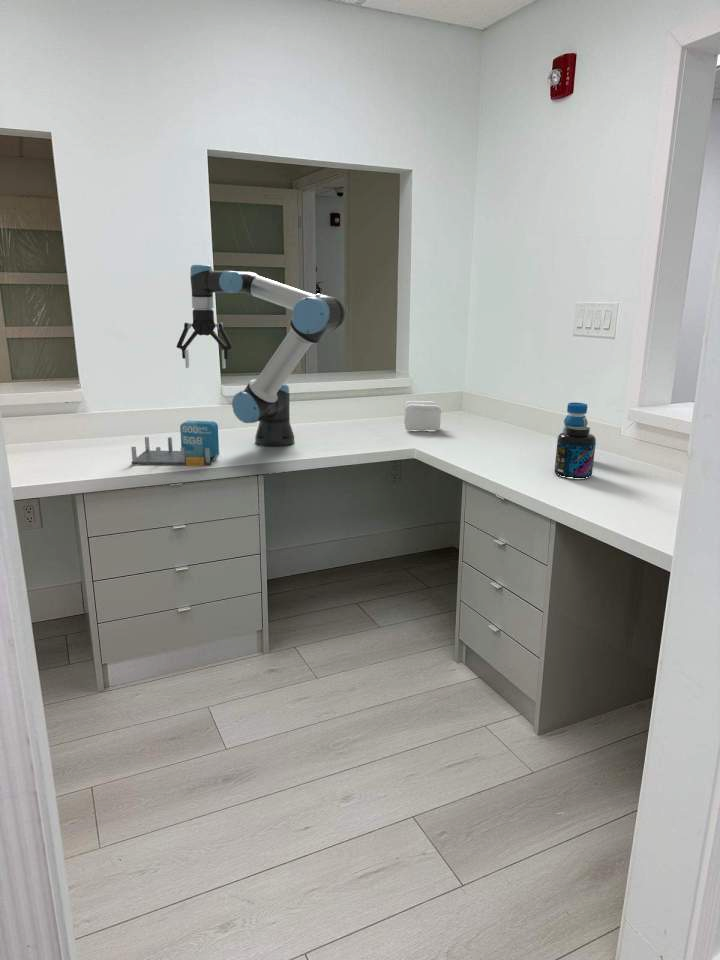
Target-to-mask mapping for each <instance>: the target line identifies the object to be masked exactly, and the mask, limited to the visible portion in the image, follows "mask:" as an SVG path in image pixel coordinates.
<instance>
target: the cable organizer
mask: <svg viewBox="0 0 720 960" xmlns="http://www.w3.org/2000/svg"><path fill="white" fill-rule="evenodd" d="M441 415H442V409H441V407H440V406H439V405H438V403H437V402H436V401H430V400H428V401H427V400H426V401H423V400H408V401H406V402H405V403H404V418H403V423H404V429H405V430H407V431H409V430H438V431H439V430H440V428H441Z"/></svg>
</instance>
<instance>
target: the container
mask: <svg viewBox="0 0 720 960" xmlns="http://www.w3.org/2000/svg"><path fill="white" fill-rule="evenodd" d="M590 431H591V427H588V426H579V425H569V426H566V432H563V431H561V433H559V434H558V436H557V442H556V452H555V453H556V454H555V461H554V473H555V474H556V475H557V474H559V475H561V476H565V477H573V478H586V477H589V476H591V475H593V469H594V461H595V453H596V452H595V451H596V444H597V443H596V442H597V439H596V437H595V435H593V434H592V433H590ZM591 477H592V476H591ZM589 478H590V477H589Z"/></svg>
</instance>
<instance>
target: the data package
mask: <svg viewBox="0 0 720 960" xmlns="http://www.w3.org/2000/svg"><path fill="white" fill-rule="evenodd" d="M179 430H180V446H181V447H185V457H204V458H206V456H205V448H209V452H210V458H213V457H214V456H216V455H217V454H218V453H219V454H220V446H219V445H220V444H219V426H218V423H217V422H216V421H213V420H211V421H207V420H186V421H184V422H182V423H181V424H180V427H179ZM181 447H180V448H181Z"/></svg>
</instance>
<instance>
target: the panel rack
mask: <svg viewBox="0 0 720 960" xmlns="http://www.w3.org/2000/svg"><path fill="white" fill-rule="evenodd" d="M144 445H145V447H144V448H145V451H143V452H142V453H141V454H139V455H138V454H137V446H131V460H132V461H131V465H132V464H142V466H144V465H145V466H146V465H147V466H148V465H149V466H186V467H190V466H191V467H194V466H195V467H205V466H209V467H210V466H211V465H212V464H213V463H214V462H215V461H216V459H217V458H218V456H219V455H220V452H219V453H218V454H217V455H216V456H214V457H213V458H210V452H209V448H205V456H206V458H204V457H185V447H180V450H174V449H173V437H172V436H169V437H167V447H168V450H161V446H156V447H155V450H151V449H150V448H151V447H150V437H149V436H145V437H144ZM137 455H138V456H137Z"/></svg>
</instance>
